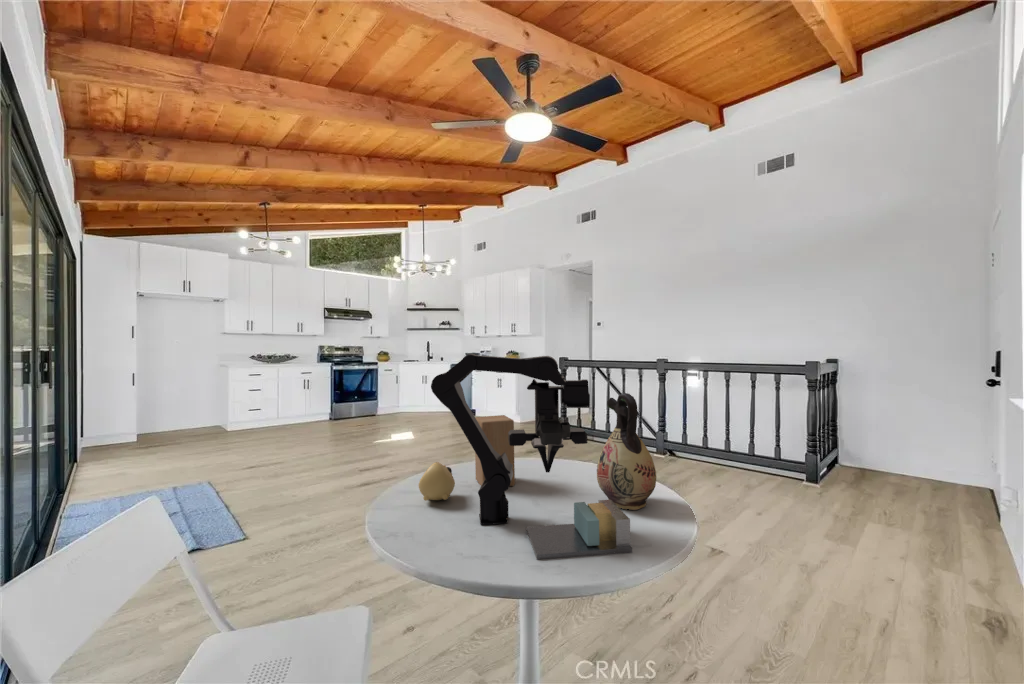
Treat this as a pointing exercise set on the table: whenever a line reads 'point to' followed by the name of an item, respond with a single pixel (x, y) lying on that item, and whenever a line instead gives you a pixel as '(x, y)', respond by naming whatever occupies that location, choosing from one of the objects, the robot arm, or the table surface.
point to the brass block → (602, 520)
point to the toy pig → (437, 482)
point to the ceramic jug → (626, 459)
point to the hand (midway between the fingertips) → (547, 472)
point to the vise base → (580, 538)
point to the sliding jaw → (586, 523)
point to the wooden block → (496, 440)
